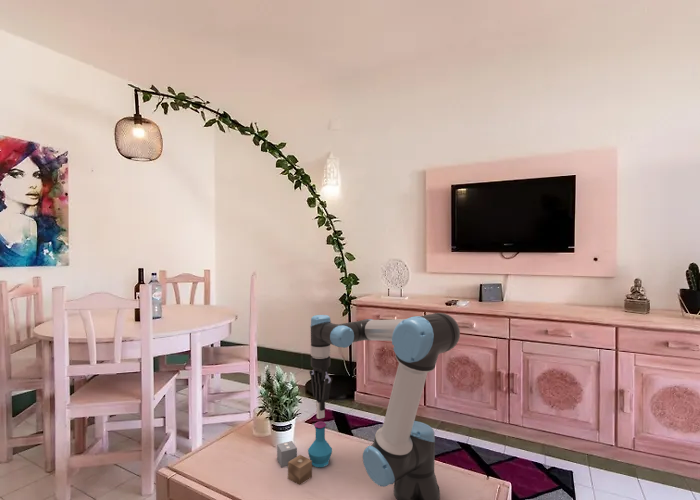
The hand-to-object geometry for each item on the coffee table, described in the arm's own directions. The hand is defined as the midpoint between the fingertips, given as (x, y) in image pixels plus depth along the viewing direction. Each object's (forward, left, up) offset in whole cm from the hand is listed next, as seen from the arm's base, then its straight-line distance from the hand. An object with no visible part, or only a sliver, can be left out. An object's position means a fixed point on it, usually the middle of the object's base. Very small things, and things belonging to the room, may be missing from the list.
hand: (320, 417), depth 144 cm
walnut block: (-4, +11, -17) cm, 21 cm away
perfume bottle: (0, 0, -18) cm, 18 cm away
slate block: (+8, +10, -17) cm, 22 cm away
